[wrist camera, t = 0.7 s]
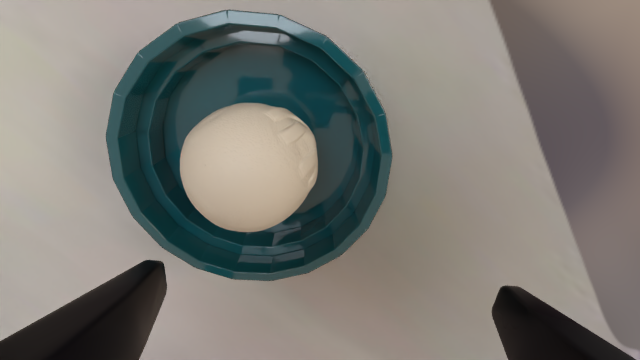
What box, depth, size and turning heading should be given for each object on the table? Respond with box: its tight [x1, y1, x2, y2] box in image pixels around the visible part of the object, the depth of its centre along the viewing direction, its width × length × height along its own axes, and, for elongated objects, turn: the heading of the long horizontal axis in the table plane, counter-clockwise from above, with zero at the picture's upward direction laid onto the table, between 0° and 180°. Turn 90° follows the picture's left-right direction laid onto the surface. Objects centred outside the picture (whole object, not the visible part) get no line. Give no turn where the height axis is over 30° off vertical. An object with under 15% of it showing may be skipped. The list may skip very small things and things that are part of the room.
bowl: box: [106, 10, 392, 281], centre depth 19 cm, size 15×15×4 cm
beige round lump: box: [180, 103, 318, 232], centre depth 17 cm, size 7×7×7 cm
